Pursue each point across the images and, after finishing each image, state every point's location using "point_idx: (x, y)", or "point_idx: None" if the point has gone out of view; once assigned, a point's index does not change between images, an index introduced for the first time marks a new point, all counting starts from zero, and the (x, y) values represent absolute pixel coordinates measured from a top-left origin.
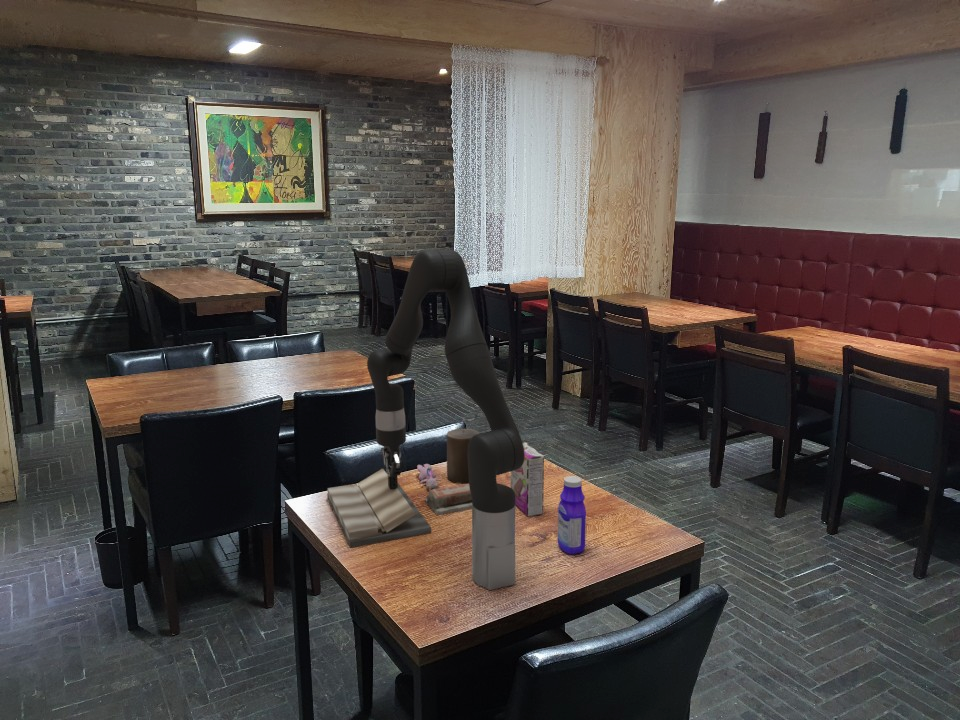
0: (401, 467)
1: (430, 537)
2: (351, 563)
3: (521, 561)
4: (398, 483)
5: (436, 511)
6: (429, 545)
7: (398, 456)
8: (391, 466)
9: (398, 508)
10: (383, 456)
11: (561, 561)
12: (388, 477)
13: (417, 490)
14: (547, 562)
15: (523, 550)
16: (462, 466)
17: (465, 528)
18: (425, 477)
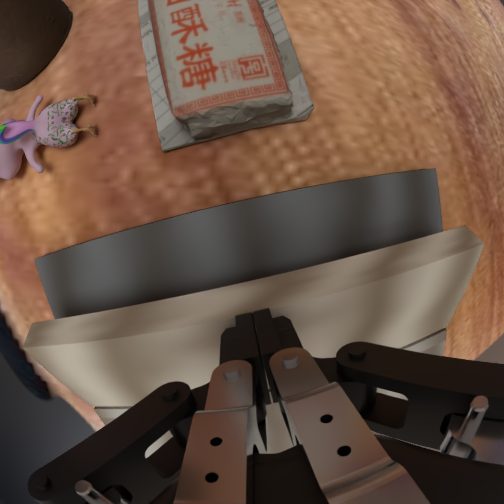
0: (484, 367)
1: (443, 177)
2: (467, 359)
3: (499, 50)
4: (40, 257)
5: (306, 115)
6: (470, 190)
7: (498, 465)
8: (430, 446)
9: (435, 292)
10: (146, 501)
11: (485, 7)
12: (269, 393)
13: (69, 181)
14: (492, 23)
15: (473, 25)
16: (36, 11)
17: (405, 67)
18: (15, 153)
